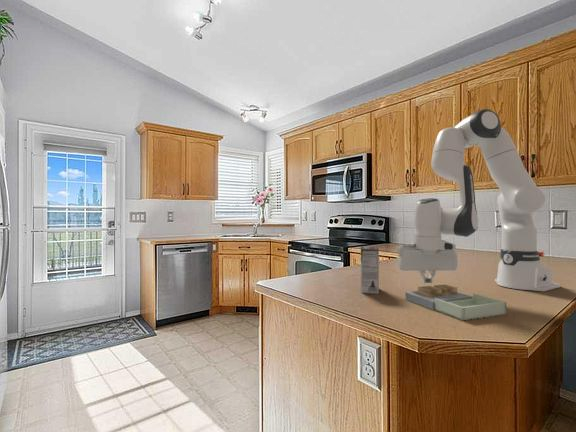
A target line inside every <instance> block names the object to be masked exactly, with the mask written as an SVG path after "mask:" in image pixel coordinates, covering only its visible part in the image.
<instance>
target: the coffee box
mask: <svg viewBox="0 0 576 432" xmlns="http://www.w3.org/2000/svg"><path fill="white" fill-rule="evenodd" d="M378 247H379V246H360V289H361V291H360V292H361V294H375V295H377V294H378V295H379V293H380V292H379V289H380V288H379V286H380V285H379V283H380V282H379V276H380V275H379V273H380V271H379V267H380V266H379V265H380V264H379V263H380V262H379V260H380V259H379V258H380V255H379V254H380V253H379V248H378Z"/></svg>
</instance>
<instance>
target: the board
mask: <svg viewBox="0 0 576 432" xmlns="http://www.w3.org/2000/svg"><path fill="white" fill-rule="evenodd" d="M434 298H437V299H440V300H443V301H446V302H449V301H457V300H465V299H472V298H473V296H471V295H468V294H465V293H461V292H458V291H457V294H450V295H444V294H442V296H433V297H428V296H425V295H422V294H419V293H418V290H415V291H414V290H413V291H406V292H405V300H406V301H407V302H410V303H413V304H416V305H418V306H421V307H424V308H426V307H427V309H429V308H430V309H429V310H432V311H435V310H434Z"/></svg>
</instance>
